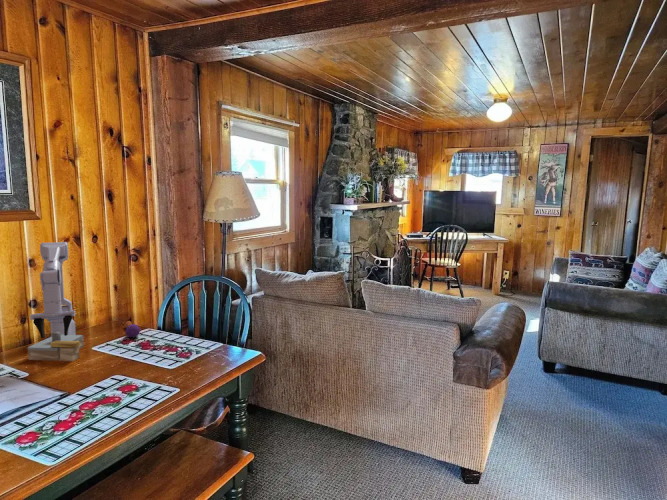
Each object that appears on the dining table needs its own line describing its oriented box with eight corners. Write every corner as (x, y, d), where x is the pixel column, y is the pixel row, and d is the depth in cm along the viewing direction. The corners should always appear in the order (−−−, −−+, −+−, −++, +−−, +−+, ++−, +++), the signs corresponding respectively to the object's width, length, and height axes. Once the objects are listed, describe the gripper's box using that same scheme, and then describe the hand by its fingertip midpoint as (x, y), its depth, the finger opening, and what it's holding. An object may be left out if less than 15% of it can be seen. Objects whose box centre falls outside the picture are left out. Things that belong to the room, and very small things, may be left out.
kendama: (135, 318, 213) (141, 325, 196) (134, 330, 213) (139, 338, 196) (122, 317, 210) (127, 325, 193) (120, 330, 210) (125, 338, 193)
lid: (56, 338, 184) (55, 326, 183) (83, 339, 183) (82, 327, 183) (28, 352, 168) (26, 338, 168) (57, 353, 168) (56, 339, 167)
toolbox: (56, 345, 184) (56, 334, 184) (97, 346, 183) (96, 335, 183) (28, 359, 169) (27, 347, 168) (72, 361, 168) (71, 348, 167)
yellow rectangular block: (55, 344, 171) (55, 340, 171) (80, 344, 170) (79, 341, 170) (50, 346, 168) (50, 343, 168) (75, 347, 167) (75, 343, 167)
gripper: (26, 304, 159) (29, 340, 160) (71, 301, 164) (74, 336, 165) (32, 302, 166) (34, 337, 166) (75, 298, 171) (77, 332, 172)
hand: (54, 336), depth 166 cm, fingers open, 7 cm apart
